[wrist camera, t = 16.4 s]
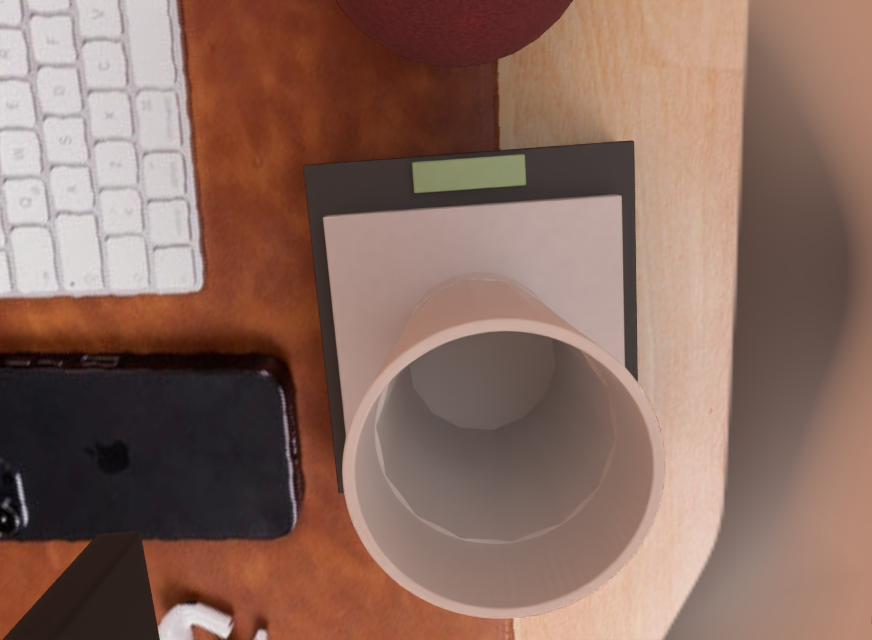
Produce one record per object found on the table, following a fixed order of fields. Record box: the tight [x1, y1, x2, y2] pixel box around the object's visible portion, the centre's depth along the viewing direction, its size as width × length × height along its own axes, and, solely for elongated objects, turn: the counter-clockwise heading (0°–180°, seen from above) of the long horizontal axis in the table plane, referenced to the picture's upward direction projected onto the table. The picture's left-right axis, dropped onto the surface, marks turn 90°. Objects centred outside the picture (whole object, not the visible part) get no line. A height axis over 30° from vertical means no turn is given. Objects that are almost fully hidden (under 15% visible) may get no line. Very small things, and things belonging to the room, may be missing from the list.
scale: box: [303, 141, 638, 493], centre depth 32 cm, size 13×14×4 cm
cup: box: [342, 273, 665, 619], centre depth 24 cm, size 8×8×12 cm
